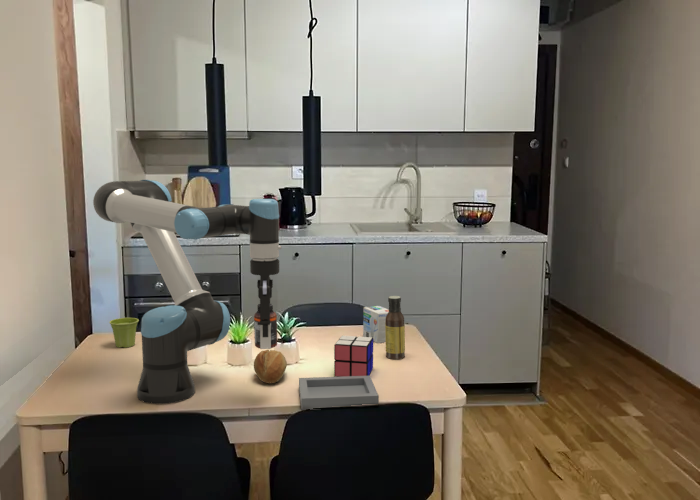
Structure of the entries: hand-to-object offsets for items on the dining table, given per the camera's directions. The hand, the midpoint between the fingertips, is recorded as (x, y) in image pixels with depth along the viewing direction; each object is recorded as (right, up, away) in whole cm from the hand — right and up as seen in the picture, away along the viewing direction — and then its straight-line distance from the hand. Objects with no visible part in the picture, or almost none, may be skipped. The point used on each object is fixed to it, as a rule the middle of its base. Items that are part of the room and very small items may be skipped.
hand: (265, 344), depth 178 cm
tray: (+19, -15, +3) cm, 24 cm away
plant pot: (-54, -8, +51) cm, 75 cm away
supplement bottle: (0, -1, 0) cm, 1 cm away
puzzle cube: (+23, -12, +24) cm, 36 cm away
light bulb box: (+32, -7, +61) cm, 69 cm away
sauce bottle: (+37, -10, +39) cm, 55 cm away
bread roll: (-1, -13, +19) cm, 23 cm away
